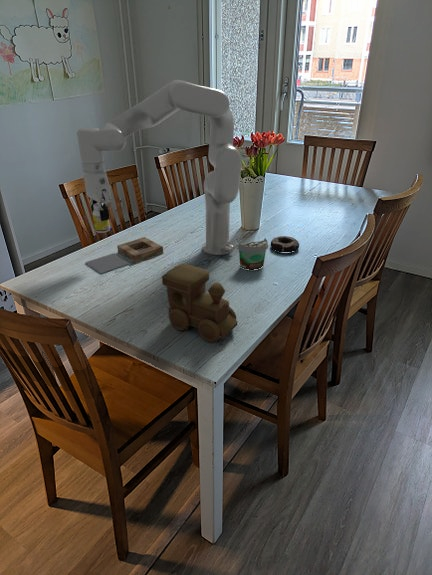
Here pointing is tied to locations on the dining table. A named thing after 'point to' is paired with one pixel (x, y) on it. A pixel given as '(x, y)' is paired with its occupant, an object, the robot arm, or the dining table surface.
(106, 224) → the supplement bottle
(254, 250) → the food container
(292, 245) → the donut
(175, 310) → the wooden toy train
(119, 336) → the dining table surface
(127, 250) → the socket block
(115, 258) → the rubber mat
